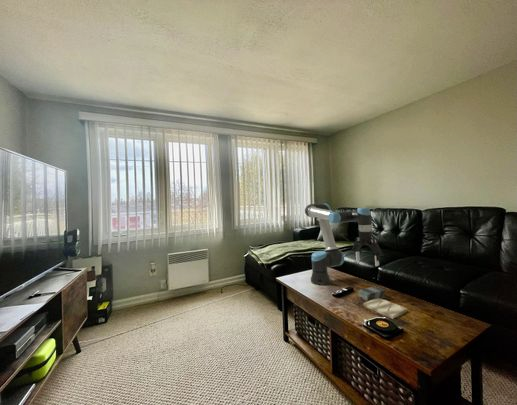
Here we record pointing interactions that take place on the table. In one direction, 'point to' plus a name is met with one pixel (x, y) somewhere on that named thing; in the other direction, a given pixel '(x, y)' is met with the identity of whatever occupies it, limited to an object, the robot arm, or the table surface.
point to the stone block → (371, 293)
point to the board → (385, 307)
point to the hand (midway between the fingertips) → (367, 263)
